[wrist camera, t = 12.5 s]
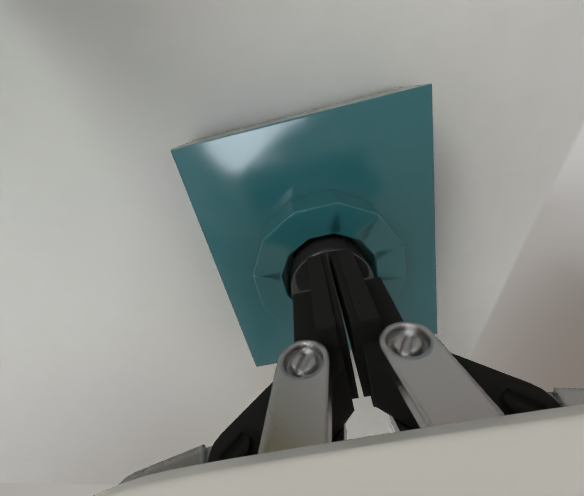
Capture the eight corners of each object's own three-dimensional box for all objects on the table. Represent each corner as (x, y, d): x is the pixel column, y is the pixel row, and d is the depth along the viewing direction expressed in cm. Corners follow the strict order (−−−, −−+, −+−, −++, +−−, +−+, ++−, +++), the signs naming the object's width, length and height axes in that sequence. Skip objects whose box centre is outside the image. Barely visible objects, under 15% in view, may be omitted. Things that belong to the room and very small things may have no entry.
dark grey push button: (366, 283, 14) (378, 311, 12) (298, 297, 14) (301, 326, 12) (356, 220, 12) (369, 241, 11) (282, 237, 13) (282, 260, 11)
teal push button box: (414, 298, 19) (454, 360, 14) (260, 328, 20) (253, 395, 15) (401, 86, 14) (458, 80, 9) (192, 140, 14) (150, 157, 10)
